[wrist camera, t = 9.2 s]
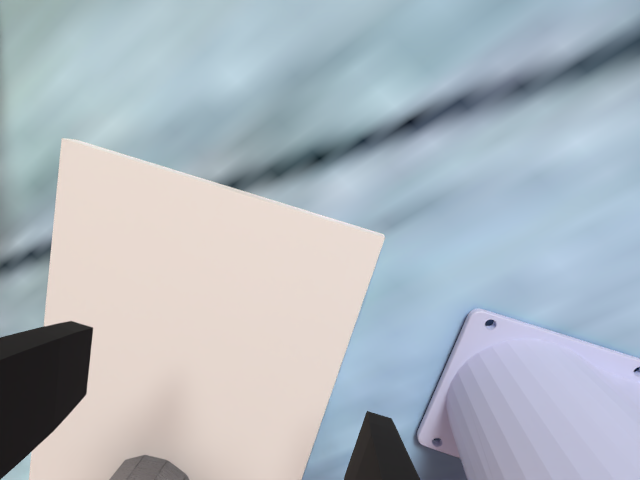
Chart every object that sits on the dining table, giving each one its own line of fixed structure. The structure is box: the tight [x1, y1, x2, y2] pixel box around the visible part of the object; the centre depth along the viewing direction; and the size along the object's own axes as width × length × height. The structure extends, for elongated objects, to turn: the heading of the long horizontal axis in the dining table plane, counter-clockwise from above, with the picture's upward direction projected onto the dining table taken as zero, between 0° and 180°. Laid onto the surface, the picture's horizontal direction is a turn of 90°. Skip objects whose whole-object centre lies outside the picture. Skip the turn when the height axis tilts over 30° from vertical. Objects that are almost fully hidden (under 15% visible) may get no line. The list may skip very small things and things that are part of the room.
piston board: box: [29, 138, 385, 480], centre depth 19 cm, size 16×24×3 cm, turn 164°
